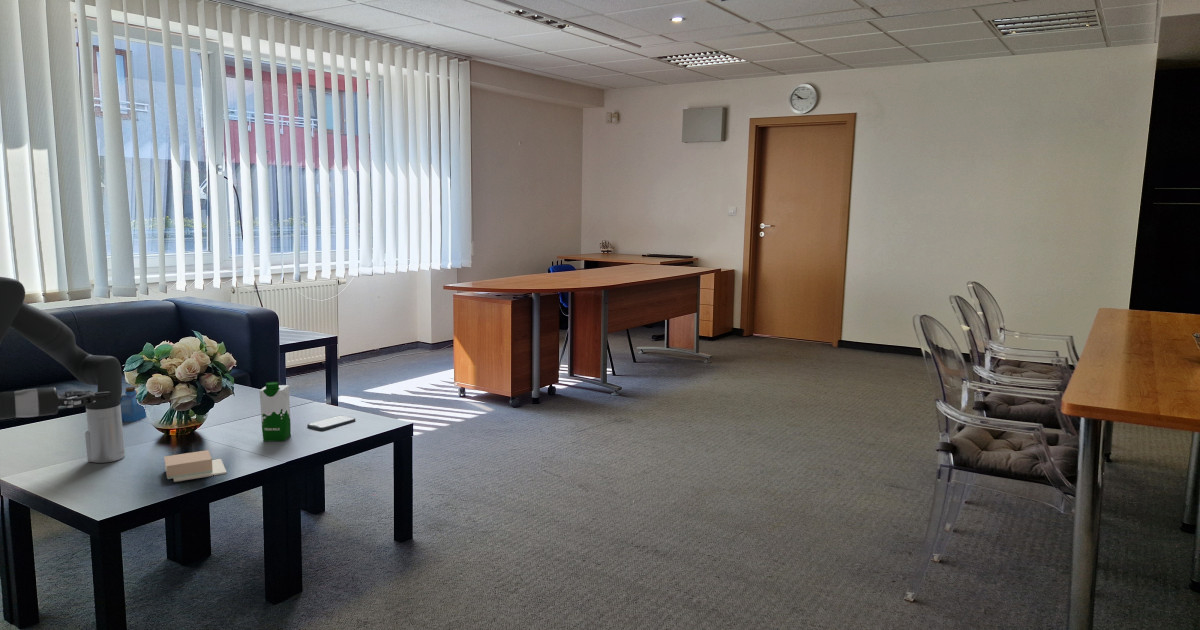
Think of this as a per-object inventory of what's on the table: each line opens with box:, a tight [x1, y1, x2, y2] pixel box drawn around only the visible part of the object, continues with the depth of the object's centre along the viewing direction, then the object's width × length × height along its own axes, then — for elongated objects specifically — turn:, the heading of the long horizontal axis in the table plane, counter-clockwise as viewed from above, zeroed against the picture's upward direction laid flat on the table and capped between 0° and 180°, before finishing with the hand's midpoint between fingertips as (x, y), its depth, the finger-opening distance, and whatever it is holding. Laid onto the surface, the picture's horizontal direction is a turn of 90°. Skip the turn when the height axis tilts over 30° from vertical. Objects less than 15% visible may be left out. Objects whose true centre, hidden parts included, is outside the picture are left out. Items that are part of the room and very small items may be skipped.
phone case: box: [306, 415, 356, 432], centre depth 288 cm, size 9×2×16 cm
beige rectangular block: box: [163, 449, 213, 480], centre depth 236 cm, size 4×10×12 cm
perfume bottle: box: [120, 386, 147, 423], centre depth 292 cm, size 6×6×12 cm
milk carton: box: [259, 381, 292, 442], centre depth 269 cm, size 9×9×20 cm
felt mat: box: [172, 458, 228, 483], centre depth 238 cm, size 14×14×1 cm
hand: (110, 395), depth 223 cm, fingers closed
